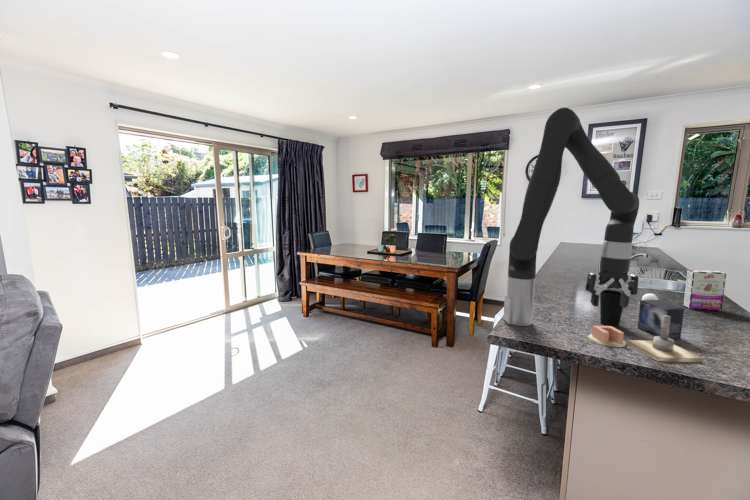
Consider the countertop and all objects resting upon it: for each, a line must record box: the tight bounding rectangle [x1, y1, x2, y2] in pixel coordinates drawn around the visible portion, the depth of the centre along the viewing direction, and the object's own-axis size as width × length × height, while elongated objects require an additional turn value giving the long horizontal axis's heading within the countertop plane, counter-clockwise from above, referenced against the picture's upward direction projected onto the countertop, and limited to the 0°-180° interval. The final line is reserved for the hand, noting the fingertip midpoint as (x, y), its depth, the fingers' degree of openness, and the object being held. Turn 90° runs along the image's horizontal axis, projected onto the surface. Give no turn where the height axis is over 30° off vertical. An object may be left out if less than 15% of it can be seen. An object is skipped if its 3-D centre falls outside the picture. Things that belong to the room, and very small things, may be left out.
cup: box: [599, 289, 624, 328], centre depth 122 cm, size 8×8×12 cm
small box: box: [637, 299, 685, 340], centre depth 114 cm, size 11×6×10 cm, turn 5°
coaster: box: [588, 333, 627, 348], centre depth 108 cm, size 10×10×1 cm
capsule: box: [641, 293, 659, 300], centre depth 136 cm, size 5×5×8 cm
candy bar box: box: [683, 269, 727, 311], centre depth 141 cm, size 11×5×16 cm, turn 73°
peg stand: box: [626, 315, 703, 363], centre depth 98 cm, size 12×12×11 cm
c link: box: [591, 325, 625, 344], centre depth 107 cm, size 6×6×4 cm
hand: (608, 306), depth 106 cm, fingers open, 8 cm apart
